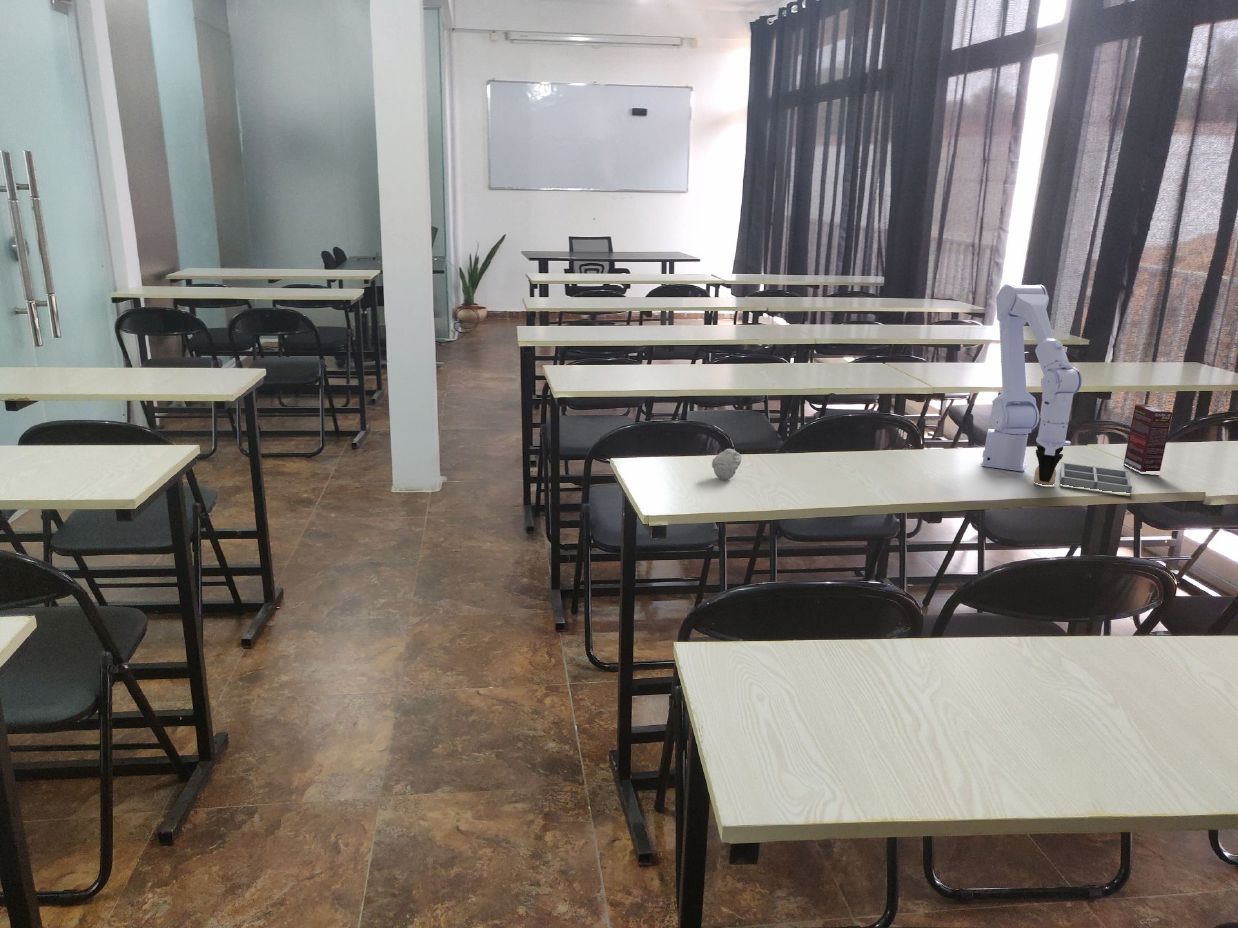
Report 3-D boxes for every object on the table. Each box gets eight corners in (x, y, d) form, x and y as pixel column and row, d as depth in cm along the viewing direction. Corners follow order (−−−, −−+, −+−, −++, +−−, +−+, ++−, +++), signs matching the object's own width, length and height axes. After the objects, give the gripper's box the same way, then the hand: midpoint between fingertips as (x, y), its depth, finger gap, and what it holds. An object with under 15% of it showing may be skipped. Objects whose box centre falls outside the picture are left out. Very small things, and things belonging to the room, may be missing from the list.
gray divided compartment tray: (1059, 486, 204) (1061, 477, 204) (1060, 471, 217) (1061, 462, 216) (1129, 496, 199) (1131, 486, 198) (1126, 480, 211) (1127, 471, 210)
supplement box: (1160, 476, 215) (1174, 412, 211) (1140, 475, 216) (1153, 411, 211) (1141, 466, 224) (1153, 404, 219) (1121, 465, 224) (1134, 403, 219)
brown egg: (1032, 485, 205) (1036, 464, 203) (1033, 480, 209) (1036, 460, 207) (1053, 488, 203) (1057, 467, 202) (1054, 483, 207) (1057, 462, 206)
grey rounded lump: (745, 481, 201) (747, 451, 199) (719, 484, 198) (721, 454, 196) (731, 473, 206) (733, 444, 204) (705, 476, 203) (706, 447, 201)
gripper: (1074, 430, 194) (1063, 489, 198) (1073, 417, 206) (1063, 473, 210) (1039, 425, 197) (1029, 484, 200) (1040, 413, 209) (1031, 468, 213)
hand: (1044, 478), depth 205 cm, fingers open, 5 cm apart
